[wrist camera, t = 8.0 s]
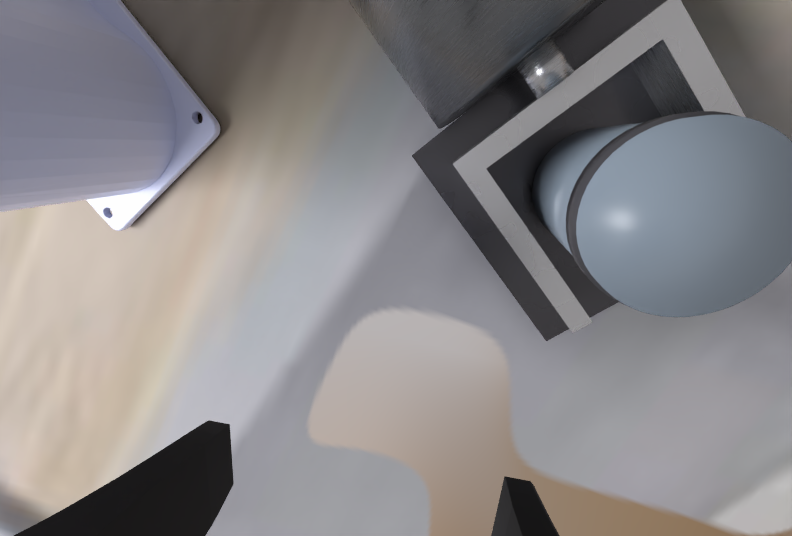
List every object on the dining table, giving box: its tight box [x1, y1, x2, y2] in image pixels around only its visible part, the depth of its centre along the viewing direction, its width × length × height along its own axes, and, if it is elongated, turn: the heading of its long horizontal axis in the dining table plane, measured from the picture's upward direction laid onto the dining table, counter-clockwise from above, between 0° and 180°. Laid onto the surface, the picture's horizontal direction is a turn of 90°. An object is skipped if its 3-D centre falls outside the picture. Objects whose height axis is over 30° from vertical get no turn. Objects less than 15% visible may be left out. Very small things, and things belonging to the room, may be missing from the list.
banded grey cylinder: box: [532, 111, 792, 317], centre depth 12 cm, size 5×5×7 cm
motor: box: [349, 0, 746, 341], centre depth 12 cm, size 19×10×7 cm, turn 38°
